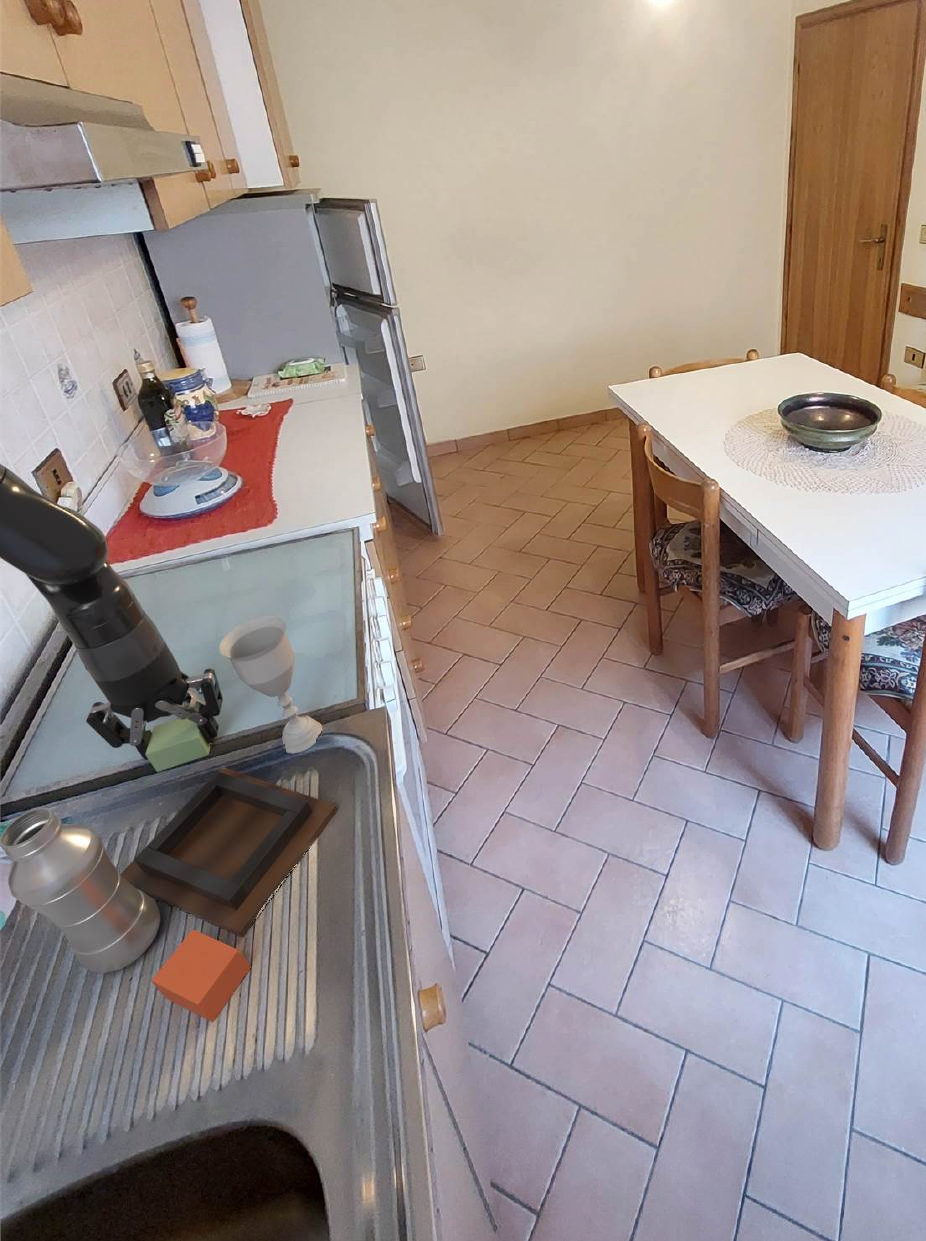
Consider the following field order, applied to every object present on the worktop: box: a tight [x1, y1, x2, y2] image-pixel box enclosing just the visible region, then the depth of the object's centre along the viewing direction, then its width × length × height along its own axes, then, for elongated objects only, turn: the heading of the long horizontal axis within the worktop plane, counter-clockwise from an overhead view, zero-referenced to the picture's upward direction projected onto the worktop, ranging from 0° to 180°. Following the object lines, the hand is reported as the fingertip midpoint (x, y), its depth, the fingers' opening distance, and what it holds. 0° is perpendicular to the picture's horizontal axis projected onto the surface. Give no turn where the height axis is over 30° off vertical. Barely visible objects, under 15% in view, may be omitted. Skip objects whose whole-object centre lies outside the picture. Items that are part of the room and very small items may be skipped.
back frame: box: [120, 766, 338, 938], centre depth 75 cm, size 18×14×3 cm
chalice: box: [219, 615, 324, 754], centre depth 84 cm, size 7×7×18 cm
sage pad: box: [145, 718, 212, 773], centre depth 87 cm, size 6×4×4 cm
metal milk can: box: [0, 807, 161, 974], centre depth 63 cm, size 6×7×20 cm
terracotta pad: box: [150, 929, 252, 1023], centre depth 63 cm, size 6×4×4 cm
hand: (184, 746), depth 88 cm, fingers closed on sage pad, 6 cm apart
